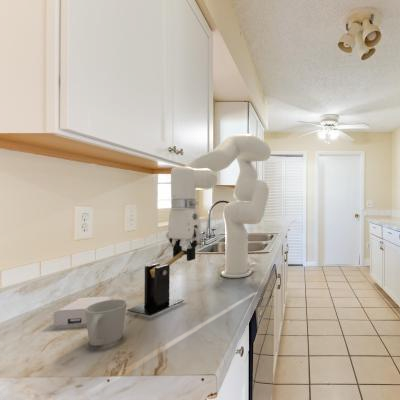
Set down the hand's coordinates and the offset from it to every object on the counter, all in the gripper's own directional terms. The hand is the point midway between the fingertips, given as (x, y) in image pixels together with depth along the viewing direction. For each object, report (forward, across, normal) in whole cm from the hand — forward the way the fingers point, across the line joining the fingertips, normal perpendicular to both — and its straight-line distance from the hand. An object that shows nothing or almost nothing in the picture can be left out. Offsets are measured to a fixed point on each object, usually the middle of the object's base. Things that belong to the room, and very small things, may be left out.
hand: (184, 258), depth 90 cm
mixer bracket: (+13, 0, +11) cm, 16 cm away
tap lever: (+1, 0, +5) cm, 5 cm away
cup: (+12, -7, +30) cm, 33 cm away
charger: (+13, +12, +21) cm, 28 cm away
